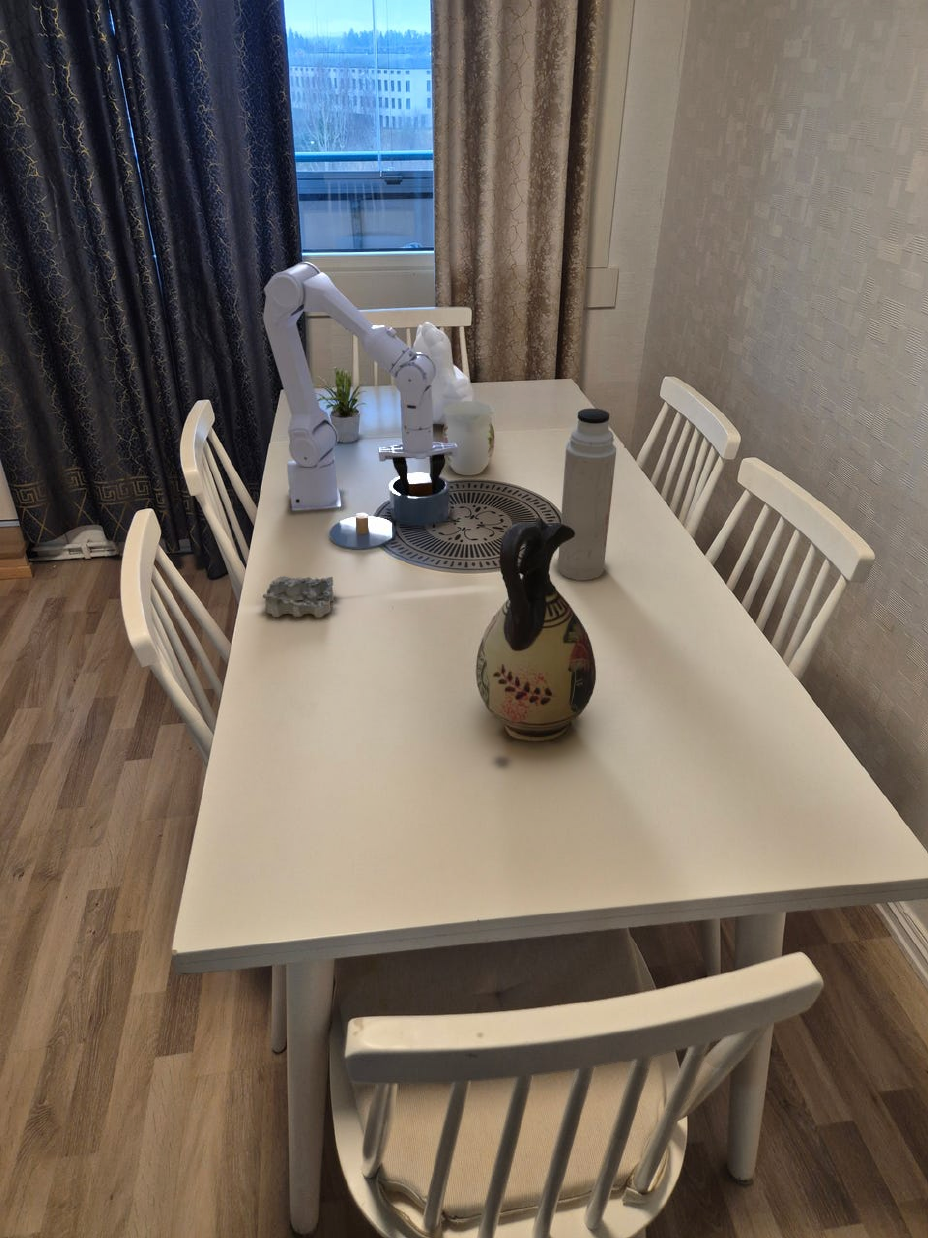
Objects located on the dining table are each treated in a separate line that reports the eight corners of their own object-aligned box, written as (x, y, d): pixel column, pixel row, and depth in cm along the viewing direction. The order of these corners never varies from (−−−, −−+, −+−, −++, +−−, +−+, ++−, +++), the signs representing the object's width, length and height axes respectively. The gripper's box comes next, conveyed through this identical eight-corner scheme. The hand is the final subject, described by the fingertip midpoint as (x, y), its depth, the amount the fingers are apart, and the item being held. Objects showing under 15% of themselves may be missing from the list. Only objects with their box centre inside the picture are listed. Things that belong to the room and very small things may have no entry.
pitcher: (490, 450, 190) (491, 390, 182) (496, 484, 175) (497, 420, 167) (442, 451, 190) (441, 391, 182) (443, 484, 175) (442, 421, 167)
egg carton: (262, 618, 134) (258, 596, 131) (274, 592, 140) (270, 571, 138) (329, 619, 133) (326, 598, 131) (337, 594, 139) (335, 573, 137)
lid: (331, 555, 150) (328, 533, 148) (328, 524, 160) (326, 503, 158) (399, 549, 152) (398, 528, 149) (392, 519, 162) (391, 498, 159)
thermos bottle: (605, 559, 149) (621, 405, 133) (602, 582, 142) (618, 423, 127) (560, 555, 150) (570, 402, 134) (555, 577, 144) (565, 419, 128)
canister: (393, 530, 158) (392, 500, 154) (388, 504, 167) (386, 474, 164) (453, 526, 159) (453, 495, 156) (445, 500, 169) (444, 470, 165)
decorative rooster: (397, 381, 209) (389, 317, 185) (457, 365, 211) (457, 299, 187) (426, 468, 202) (422, 413, 178) (489, 450, 204) (493, 393, 180)
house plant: (305, 431, 200) (297, 362, 191) (360, 422, 205) (355, 354, 196) (323, 452, 189) (315, 380, 180) (381, 442, 194) (377, 372, 185)
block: (409, 505, 159) (408, 483, 157) (407, 495, 163) (406, 474, 161) (432, 503, 160) (432, 482, 158) (429, 493, 164) (429, 472, 161)
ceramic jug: (519, 669, 122) (528, 478, 105) (612, 713, 114) (637, 514, 97) (443, 730, 111) (440, 527, 95) (539, 783, 103) (554, 572, 86)
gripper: (379, 435, 149) (383, 504, 156) (459, 429, 151) (460, 499, 158) (376, 420, 155) (380, 488, 162) (453, 416, 157) (454, 483, 164)
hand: (419, 492), depth 161 cm, fingers closed on block, 4 cm apart
